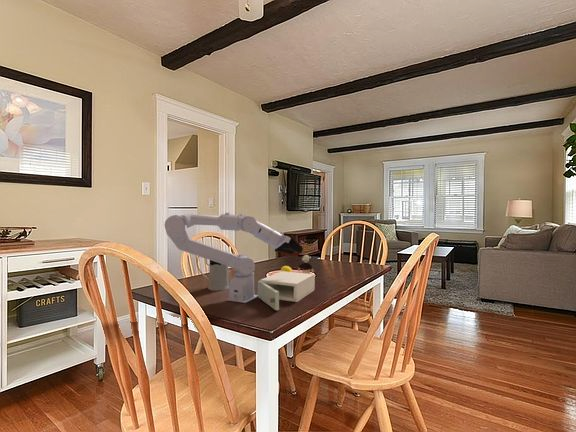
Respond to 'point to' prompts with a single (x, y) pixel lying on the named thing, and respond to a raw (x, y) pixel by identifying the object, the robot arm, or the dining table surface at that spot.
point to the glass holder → (216, 275)
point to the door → (268, 295)
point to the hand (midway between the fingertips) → (297, 251)
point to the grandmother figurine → (306, 265)
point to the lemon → (286, 269)
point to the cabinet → (291, 285)
